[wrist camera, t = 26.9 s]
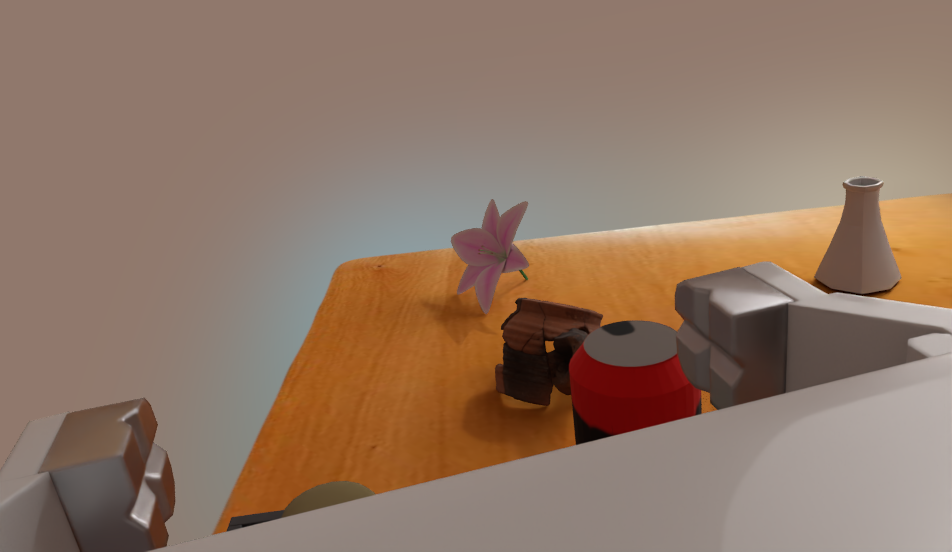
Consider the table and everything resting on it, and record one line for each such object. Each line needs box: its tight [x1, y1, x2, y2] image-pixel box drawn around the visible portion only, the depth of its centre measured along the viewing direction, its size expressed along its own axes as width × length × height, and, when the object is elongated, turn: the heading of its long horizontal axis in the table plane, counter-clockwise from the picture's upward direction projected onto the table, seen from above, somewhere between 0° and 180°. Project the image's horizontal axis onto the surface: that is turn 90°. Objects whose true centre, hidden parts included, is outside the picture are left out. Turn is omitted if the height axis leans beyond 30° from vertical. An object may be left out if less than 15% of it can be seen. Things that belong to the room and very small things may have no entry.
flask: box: [814, 176, 901, 294], centre depth 74 cm, size 7×7×10 cm
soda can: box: [569, 321, 701, 445], centre depth 48 cm, size 8×8×12 cm
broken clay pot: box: [495, 298, 603, 406], centre depth 65 cm, size 12×10×8 cm
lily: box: [451, 199, 529, 314], centre depth 83 cm, size 12×12×10 cm
